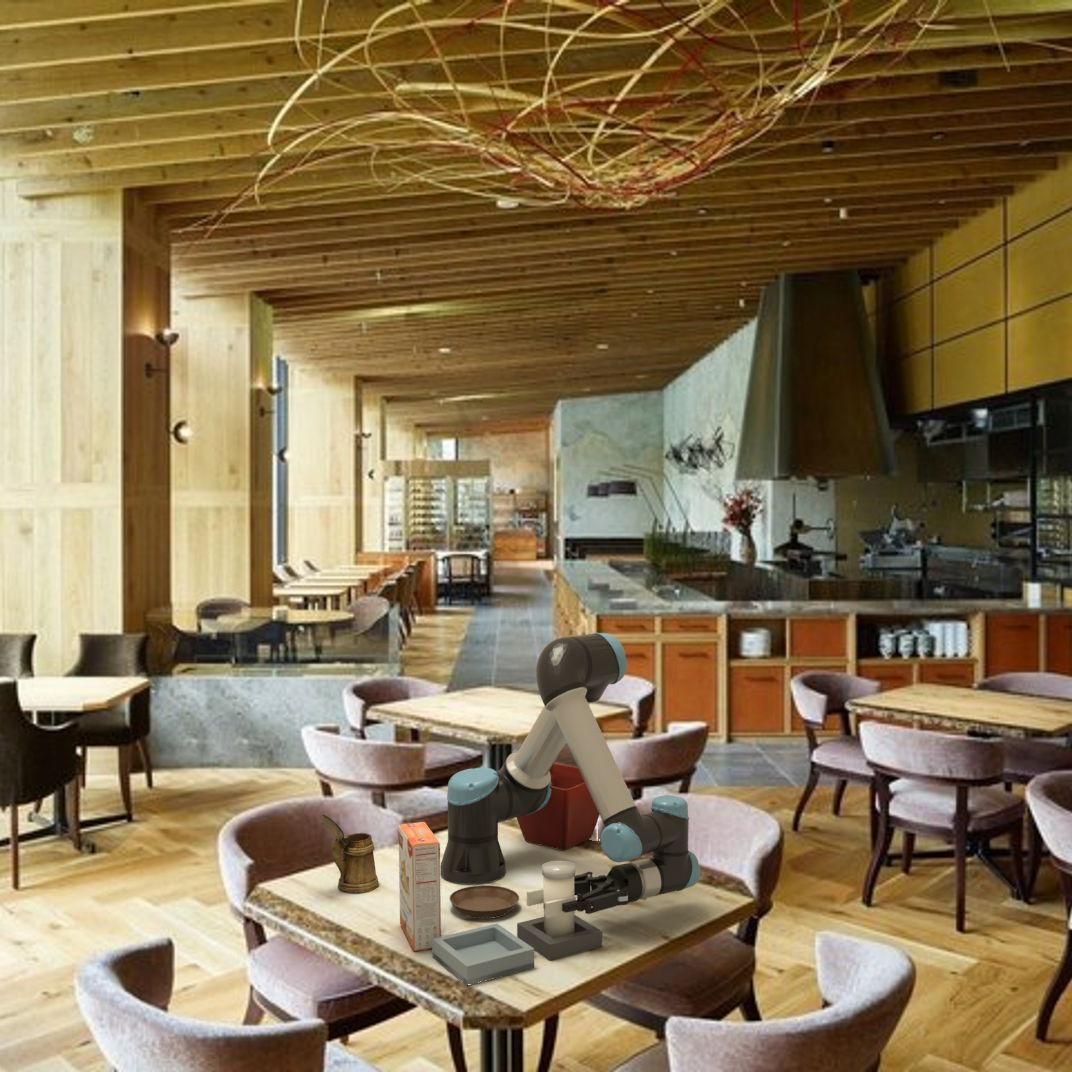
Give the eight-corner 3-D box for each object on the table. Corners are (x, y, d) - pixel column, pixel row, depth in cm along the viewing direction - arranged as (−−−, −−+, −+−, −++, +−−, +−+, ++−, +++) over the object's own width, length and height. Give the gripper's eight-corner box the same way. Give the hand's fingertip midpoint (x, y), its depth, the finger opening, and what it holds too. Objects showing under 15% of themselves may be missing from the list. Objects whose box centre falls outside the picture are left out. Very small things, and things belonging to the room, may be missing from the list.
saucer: (513, 894, 228) (513, 882, 228) (524, 920, 214) (524, 907, 214) (446, 899, 226) (446, 886, 226) (452, 925, 211) (452, 912, 211)
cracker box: (397, 925, 211) (397, 823, 210) (426, 921, 213) (426, 820, 212) (411, 953, 198) (410, 844, 197) (442, 948, 199) (441, 841, 199)
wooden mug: (312, 891, 230) (312, 810, 230) (364, 876, 239) (364, 799, 239) (333, 902, 224) (333, 819, 223) (386, 886, 233) (385, 807, 232)
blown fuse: (536, 940, 203) (536, 864, 203) (563, 933, 207) (563, 858, 206) (554, 952, 198) (553, 874, 197) (582, 944, 201) (581, 867, 201)
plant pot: (566, 857, 252) (566, 788, 251) (505, 842, 263) (505, 776, 263) (610, 837, 267) (609, 772, 267) (550, 824, 279) (550, 762, 278)
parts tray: (432, 957, 196) (432, 938, 196) (496, 940, 203) (496, 923, 203) (467, 986, 184) (466, 966, 184) (534, 967, 191) (534, 948, 191)
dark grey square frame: (517, 938, 204) (517, 923, 204) (567, 925, 210) (568, 910, 210) (549, 960, 194) (549, 944, 194) (602, 946, 200) (602, 931, 200)
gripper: (662, 915, 203) (563, 941, 191) (606, 885, 220) (511, 907, 208) (662, 877, 203) (563, 900, 191) (605, 850, 219) (511, 870, 207)
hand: (536, 904), depth 199 cm, fingers closed on blown fuse, 6 cm apart
